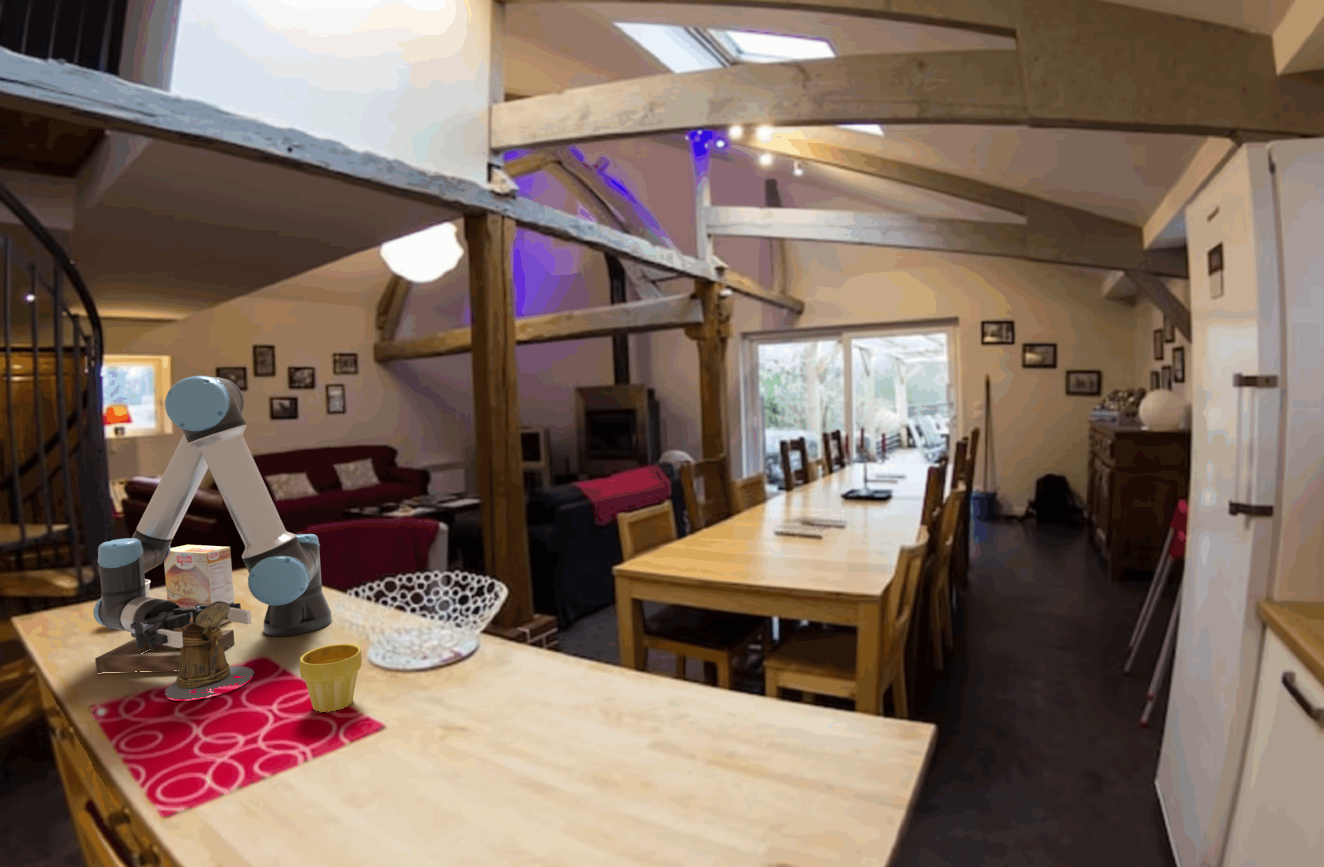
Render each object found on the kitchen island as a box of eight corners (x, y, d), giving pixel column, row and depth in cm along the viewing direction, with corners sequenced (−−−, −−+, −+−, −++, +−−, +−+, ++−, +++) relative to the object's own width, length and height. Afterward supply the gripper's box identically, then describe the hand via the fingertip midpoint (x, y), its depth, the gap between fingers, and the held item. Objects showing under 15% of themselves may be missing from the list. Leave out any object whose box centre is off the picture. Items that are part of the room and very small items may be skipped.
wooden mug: (197, 699, 130) (190, 608, 128) (169, 681, 138) (162, 594, 136) (247, 681, 137) (241, 595, 135) (218, 665, 145) (212, 582, 143)
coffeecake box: (167, 624, 176) (161, 550, 175) (193, 615, 183) (188, 543, 181) (211, 628, 172) (205, 552, 170) (237, 619, 178) (231, 545, 177)
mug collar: (234, 644, 160) (233, 629, 160) (191, 670, 145) (189, 654, 145) (148, 647, 160) (147, 632, 159) (96, 674, 145) (95, 658, 144)
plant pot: (374, 692, 131) (371, 642, 131) (345, 718, 121) (341, 664, 120) (324, 691, 132) (320, 642, 132) (290, 717, 122) (286, 664, 121)
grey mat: (269, 667, 145) (268, 665, 145) (224, 700, 130) (224, 697, 130) (198, 670, 145) (198, 667, 145) (145, 703, 130) (145, 700, 130)
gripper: (213, 615, 156) (275, 625, 147) (84, 655, 133) (149, 671, 124) (210, 583, 155) (273, 591, 146) (80, 618, 133) (145, 631, 124)
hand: (216, 628), depth 135 cm, fingers open, 13 cm apart
